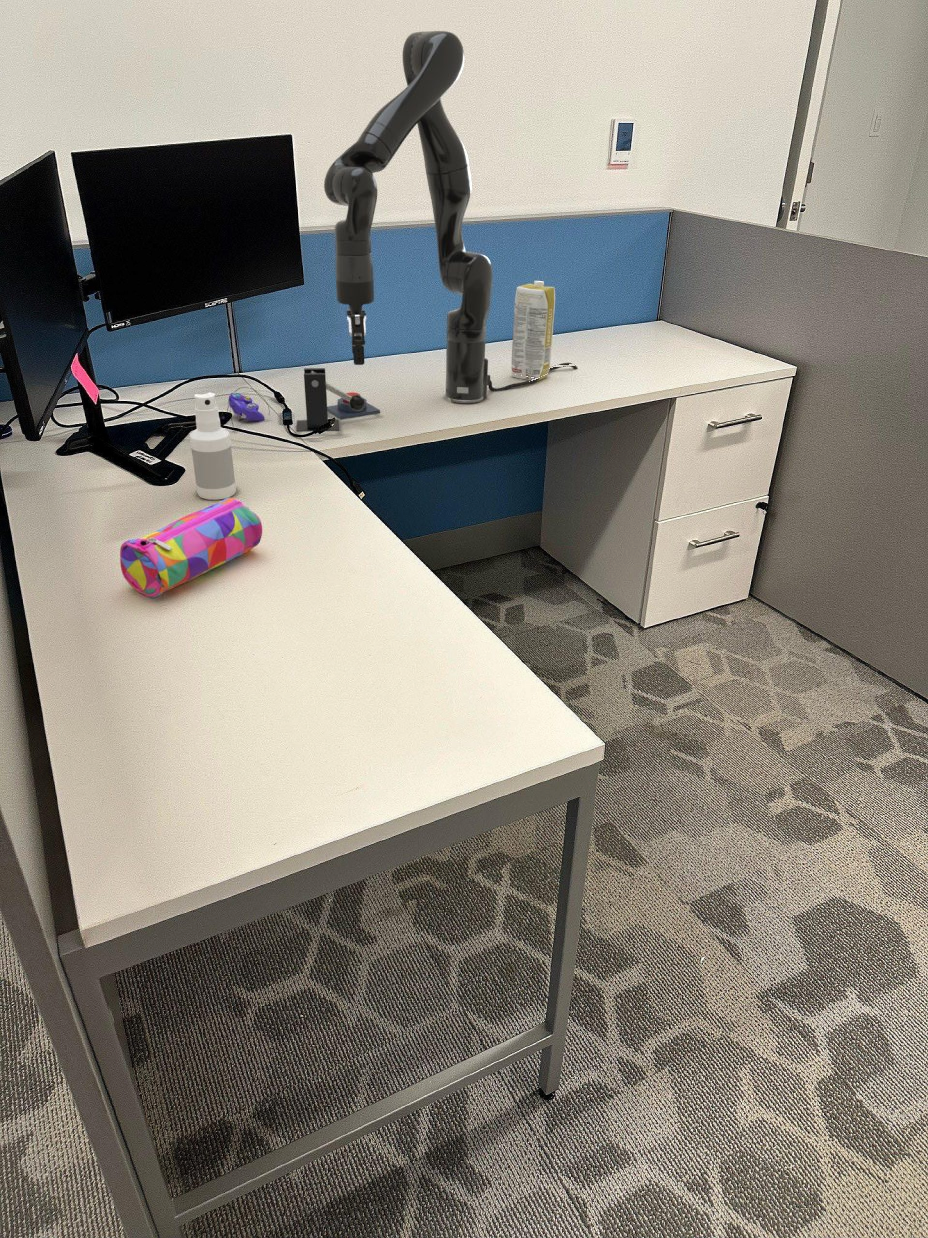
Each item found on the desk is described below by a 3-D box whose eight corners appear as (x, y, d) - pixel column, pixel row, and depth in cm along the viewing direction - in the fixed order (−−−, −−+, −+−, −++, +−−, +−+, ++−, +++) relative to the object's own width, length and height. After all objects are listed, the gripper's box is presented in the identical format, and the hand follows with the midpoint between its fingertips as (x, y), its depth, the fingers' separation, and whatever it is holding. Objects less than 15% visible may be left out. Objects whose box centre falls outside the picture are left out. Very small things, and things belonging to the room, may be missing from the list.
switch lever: (359, 410, 189) (367, 397, 188) (360, 415, 186) (368, 402, 185) (305, 381, 184) (312, 367, 183) (305, 385, 182) (312, 371, 180)
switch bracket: (338, 424, 192) (335, 366, 186) (339, 435, 186) (336, 375, 180) (297, 425, 191) (293, 366, 184) (296, 435, 185) (292, 375, 178)
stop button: (355, 398, 198) (355, 391, 198) (362, 403, 196) (362, 395, 195) (341, 401, 197) (341, 393, 196) (348, 405, 194) (348, 397, 193)
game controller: (280, 406, 190) (241, 406, 183) (270, 438, 194) (232, 439, 187) (256, 383, 194) (217, 382, 187) (247, 415, 199) (208, 415, 191)
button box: (364, 407, 203) (363, 392, 201) (380, 417, 197) (380, 402, 196) (325, 413, 198) (324, 398, 197) (340, 423, 193) (339, 408, 191)
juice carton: (552, 376, 231) (560, 281, 218) (538, 383, 225) (545, 285, 213) (521, 370, 235) (527, 277, 223) (507, 377, 229) (512, 281, 217)
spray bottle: (202, 502, 153) (188, 402, 144) (193, 489, 158) (179, 391, 149) (240, 496, 156) (229, 397, 147) (230, 483, 161) (219, 387, 152)
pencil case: (161, 610, 121) (151, 552, 116) (116, 591, 125) (105, 535, 120) (270, 553, 137) (265, 500, 132) (226, 538, 141) (220, 486, 136)
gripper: (375, 283, 168) (378, 367, 176) (371, 270, 180) (374, 349, 189) (336, 284, 167) (341, 368, 176) (335, 270, 179) (339, 350, 188)
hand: (358, 358), depth 182 cm, fingers open, 8 cm apart
